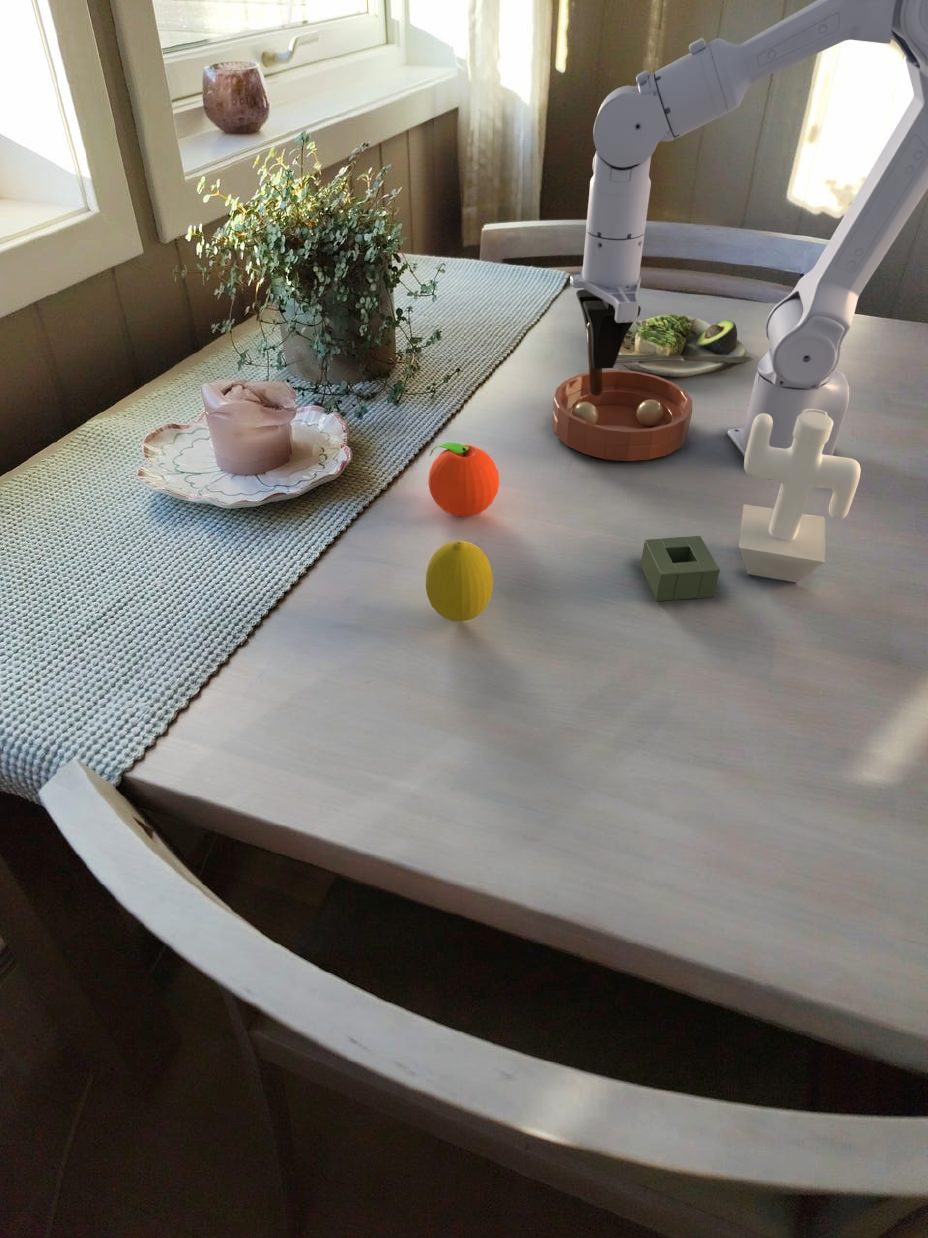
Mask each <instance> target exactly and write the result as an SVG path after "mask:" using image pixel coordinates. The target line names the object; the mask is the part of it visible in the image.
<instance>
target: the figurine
mask: <svg viewBox="0 0 928 1238" xmlns="http://www.w3.org/2000/svg"><path fill="white" fill-rule="evenodd" d="M772 426H773V420H772V417H771V416H770V415H768V414H765V413H762V414H759V415H757V416H756V417H755V419H754V421H753V424H752V428H751V432H750V436H749V441H748V445H747V449H746V453H745V457H744V461H743V468H744V471H745V473H746V474H747V475H748V476H750V477H753V478H758V479H762V480H763V479H764V480H770V481H775V482H778V483H781V484H780V487H779V490H778V494H777V497H776V499H775V500H776V501H775V504H774V507H773V508H770V507H765V506H758V505H751V504H745V503H743V506H742V515H741V523H740V531H739V540H738V550H739V553H740V557H741V559H742V562H743V565H744V567H745V571H746V573H747V575H752V576H756V577H761V578H762V577H763V578H767V579H772V580H773V579H774V580H779V581H784V582H789V583H790V582H791V583H796V584H797V583H798V582H800V581H801V580H803V579H805V578H806V577H807V576H808V575H809V574H812V572H814V571H815V570H816V569H818V568H820V567H821V566H822V565H823V564H825V562H826V527H825V526H826V520H825V519H826V518H825V516H821V515H820V516H819V515H814V514H809V513H804V512H805V510H806V506H807V502H808V500H809V496H810V493H811V491H812V489H813V488H815V487H816V488H821V489H828V490H831V491H832V495H831V498H830V502H829V505H828V514H829V516H830V517H831V518H833V519H834V520H838V521H840V520H844V519H845V518H846V517H847V516H848V514H849V512H850V508H851V506H852V503H853V500H854V498H855V494H856V491H857V488H858V485H859V483H860V478H861V465H860V463H859V462H858V461H857V460H856V459H853V458H850V457H844V456H838V455H837V456H836V455H834V456H831V455H824V454H822V451H823V448H824V445H825V443H826V442H827V441H828V440H829V437H830V433H831V430H832V427H833V420H832V419H831V418H830V417H828V416H827V412H825V411H822V410H818V409H805V410H804V411H803V412H802V414H800V415H799V416H798V417H797V420H796V424H795V427H794V431H793V437H794V439H793V443H792V446H791V447H790V448H787V449H782V448H775V447H771V446H770V445H769V439H770V435H771V431H772Z"/></svg>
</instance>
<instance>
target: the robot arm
mask: <svg viewBox="0 0 928 1238" xmlns="http://www.w3.org/2000/svg"><path fill="white" fill-rule="evenodd" d="M892 39H894V42H895V43H896V44H897V45H898V47H899V48H900V49H901V51H902V53H903V55H904V57H905V64H906V67H907V71H908V74H909V79H910V83H911V88H912V91H913V97H912V99H911V100H910V102H909V104H908V105H907V107H906V110H905V111H904V113H903V115H902V116H901V118H900V119H899V121H898V123H897V125H896V127H895V128H894V130H893V132H892V133H891V135H890V137H889V138H888V141H887V142H886V144H885V145H884V147H883V149H882V150H881V152H880V153H879V156H878V157H877V159H876V160H875V162H874V164H873V166H872V168H871V169H870V171H869V173H868V174H867V175H866V178H865V179H864V181H863V183H862V185H861V186H860V188H859V190H858V191H857V193H856V195H855V196H854V199H852V202H851V203H850V205H849V207H848V209H847V210H846V212H845V214H844V216H843V217H842V219H841V221H840V222H839V224H838V226H837V227H836V229H835V231H834V232H833V234H832V236H831V238H830V239H829V241H828V243H827V245H826V246H825V248H824V250H823V251H822V253H821V254H820V256H819V258H818V259H817V262H816V263H815V265H814V267H813V268H812V269H811V270H809V271H808V272H807V273H806V274H804V275H802V277H801V278H800V279H799V280H798V282H797V283H796V285H795V287H794V288H793V289H792V291H791V292H790V293H789V294H788V295H787V296H786V297H784V298H783V299H781V300H780V301H779V302H778V303H776V304H775V306H774V307H772V309H771V310H770V312H769V314H768V316H767V318H766V322H765V323H766V324H765V335H766V338H767V340H768V342H769V347H770V348H769V349H768V350H767V352H766V354H765V355H764V356H763V357H762V358H761V359H760V360H759V361H758V364H757V369H756V373H755V377H754V382H753V385H752V386H753V387H752V390H751V395H750V399H749V403H748V407H747V412H746V416H745V420H744V425H743V427H742V428H729V429H728V430H727V436H729V438H730V439H731V441H732V442H733V443H734V445H735V446H736V448H737V450H739V452H740V453H741V455H742V456H743V457H744V458H745V453H746V449H747V445H748V441H749V436H750V432H751V428H752V424H753V421H754V419H755V417H756V416H757V415H759V414H762V413H765V414H768V415H770V416H771V417H772V420H773V426H772V431H771V435H770V439H769V445H770V446H771V447H775V448H782V449H787V448H790V447H791V446H792V443H793V439H794V437H793V431H794V427H795V424H796V420H797V417H798V416H799V415H800V414H802V412H803V411H804V410H805V409H818V410H822V411H825V412H827V416H828V417H830V418H831V419H832V420H833V427H832V430H831V433H830V437H829V440H828V441H827V442H826V443H825V445H824V448H823V451H822V454H824V455H831V456H835V455H834V452H835V449H836V446H837V443H838V439H839V436H840V433H841V429H842V428H843V424H844V421H845V418H846V414H847V411H848V407H849V403H850V387H849V382H848V380H847V377H846V376H845V374H844V373H843V372H842V371H841V370H838V369H836V368H838V367H837V366H838V364H839V362H840V359H841V353H842V352H841V351H842V345H843V342H844V339H845V337H846V336H847V334H848V333H849V331H850V329H851V327H852V325H853V321H854V316H855V314H856V313H855V312H856V308H857V305H858V301H859V297H860V296H861V293H862V292H863V290H864V289H865V287H866V286H867V284H868V283H869V281H870V279H871V278H872V276H873V275H874V273H875V271H876V270H877V269H878V267H879V266H880V264H881V263H882V261H883V259H884V257H885V256H886V254H887V253H888V251H889V250H890V248H891V247H892V245H893V244H894V242H895V240H896V239H897V237H898V235H899V234H900V232H901V230H902V229H903V228H904V225H906V223H907V221H908V219H909V218H910V216H911V215H912V213H913V212H914V210H915V209H916V207H917V206H918V204H919V202H920V201H921V199H922V198H923V196H924V194H925V193H926V192H927V190H928V0H815V1H814V2H812V3H810V4H808V5H806V6H805V7H803V8H802V9H800V10H798V11H796V12H794V13H793V14H791V15H789V16H788V17H786V18H784V19H782V20H780V21H779V22H777V23H774V25H772V26H770V27H768V28H767V29H765V30H763V31H761V32H759V33H758V34H756V35H754V36H752V37H751V38H749V39H747V40H746V41H744V42H743V43H739V44H735V43H732V42H730V41H728V40H725V39H723V38H720V37H719V38H715V39H713V40H711V41H709V42H708V43H706V41H705V39H704V38H703V37H700V38H698V39H697V40H695V41H693V42H691V43H690V44H689V45H688V50H689V53H688V54H686V55H684V56H681V57H680V58H678V59H676V60H674V61H673V62H670V63H669V64H667V65H665V66H663V67H661V68H660V69H658V70H655V71H654V72H652V73H650V74H649V72H648V70H647V69H646V70H643V71H641V72H640V73H638V74H637V75H636V77H635V81H636V83H637V85H634V86H633V85H623V86H621V87H617V88H616V89H614V90H612V91H611V92H610V93H608V95H607V96H606V97H605V98H604V99H603V101H602V103H601V104H600V107H599V109H598V113H597V115H596V117H595V120H594V124H593V129H592V130H593V131H592V138H593V143H594V144H593V145H594V147H595V150H596V151H595V154H594V156H593V159H592V172H593V175H592V177H591V178H590V180H589V191H588V192H589V193H588V194H589V195H588V203H587V213H586V214H587V215H586V227H585V238H584V249H583V250H584V251H583V260H582V263H583V264H582V269H581V271H580V273H579V274H571V275H570V276H569V277H570V278H569V283H570V285H571V287H572V288H574V289H578V290H576V291H575V292H576V293H575V295H576V298H577V299H578V303H579V305H580V308H581V312H582V316H583V317H582V318H583V322H584V327H585V337H586V339H587V324H588V323H589V325H590V331H591V349H592V361H593V366H594V368H595V369H602V370H603V369H613V368H614V367H615V365H616V364H615V362H616V359H617V357H618V354H619V351H620V348H621V346H622V343H623V341H624V338H625V336H626V334H627V332H628V330H629V329H630V327H631V325H632V324H633V323H634V322H637V321H638V318H639V316H640V314H641V309H642V308H641V306H640V302H639V300H638V295H639V293H640V287H641V281H642V277H641V275H640V272H641V264H642V257H643V249H644V242H645V241H644V240H645V235H646V233H645V232H646V226H647V225H646V224H647V218H648V208H649V201H650V194H651V186H652V181H651V179H650V167H651V160H652V155H653V154H654V152H655V150H656V149H657V146H658V145H659V143H660V142H667V143H668V142H673V141H675V140H676V139H678V138H681V137H683V136H684V135H687V134H688V133H690V132H692V131H695V130H696V129H699V128H701V127H703V126H705V125H706V124H708V123H711V122H712V121H714V120H716V119H719V118H720V117H723V116H725V115H727V114H729V113H731V112H734V111H735V110H737V109H738V108H739V107H740V106H741V103H742V102H743V99H744V97H745V94H746V92H747V90H748V89H749V87H750V86H751V85H752V84H754V83H757V82H758V81H761V80H763V79H765V78H767V77H769V76H771V75H773V74H776V73H778V72H780V71H782V70H785V69H787V68H789V67H791V66H793V65H795V64H797V63H800V62H802V61H804V60H806V59H808V58H810V57H813V56H814V55H817V54H820V53H822V52H823V51H826V50H828V49H830V48H832V47H834V46H837V45H839V44H840V43H843V42H846V41H858V42H859V41H860V42H868V43H876V44H885V45H887V44H889V45H890V44H891V42H892ZM586 346H587V349H588V344H587V343H586Z"/></svg>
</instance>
